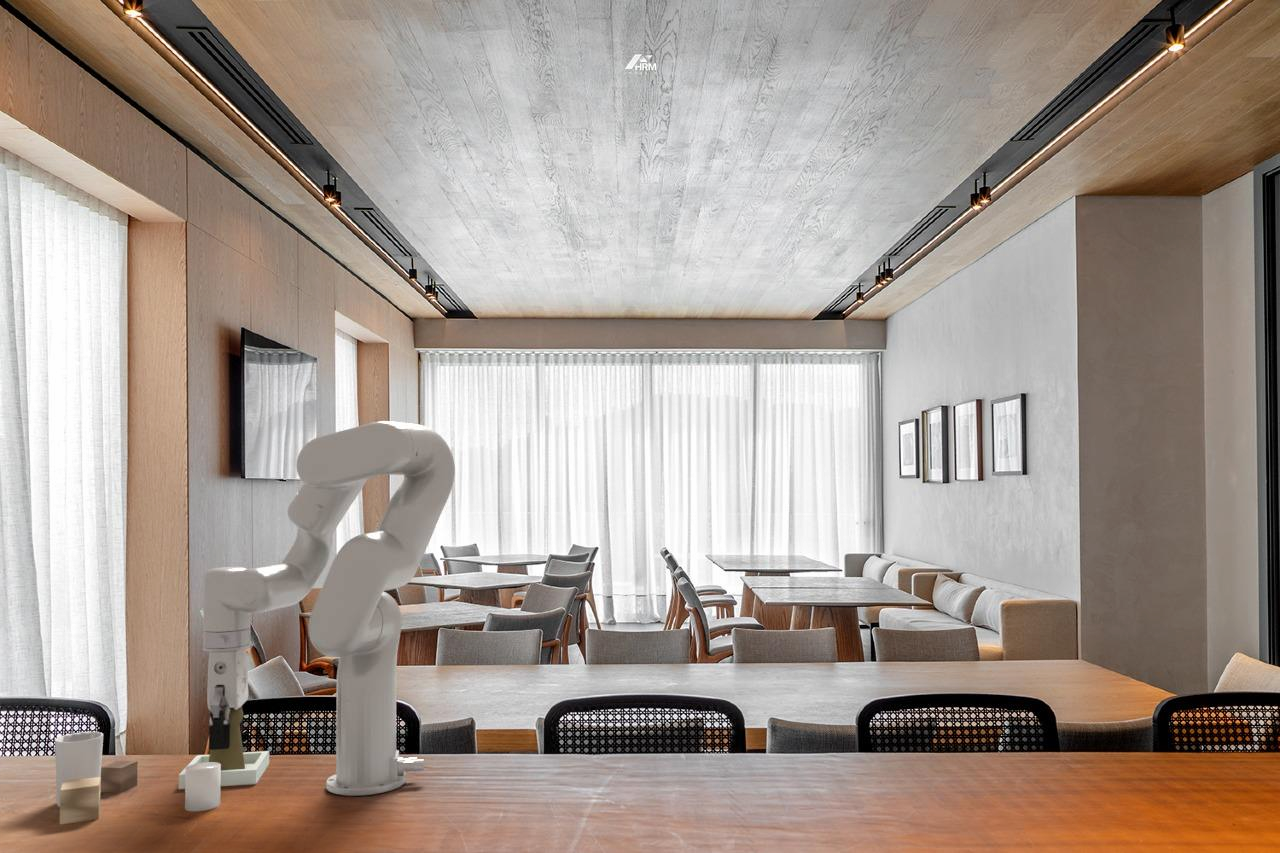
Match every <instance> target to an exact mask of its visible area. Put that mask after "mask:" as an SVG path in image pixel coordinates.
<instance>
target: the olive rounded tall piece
mask: <svg viewBox="0 0 1280 853" xmlns="http://www.w3.org/2000/svg"><path fill="white" fill-rule="evenodd" d="M224 715H225V712H224ZM243 717H244V711H243V708H242V709H241V707H240V708H239V709H237V710H234V708H230V714H229V721H228V724H230V747H229V748H228V749H217V750H210V749H209V750H210V751H209V755H210V756H209V762H217V763H220V764H221V770H236V769H245V762H244V755H243V752H244V748H243V741H242V733H241V732H240V723H241V721H242V722H243V719H244V718H243Z"/></svg>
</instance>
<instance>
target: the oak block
mask: <svg viewBox="0 0 1280 853" xmlns="http://www.w3.org/2000/svg"><path fill="white" fill-rule="evenodd" d="M101 793H102V792H101V777H95V778H87V779H79V780H71V781H63V784H62V787H61V790H60V807H59V825H67V824H73V823H74V824H75V823H81V822H87V821H88V822H89V821H94V820H99V818H100V814H101V813H100V812H101Z"/></svg>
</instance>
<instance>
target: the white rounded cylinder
mask: <svg viewBox="0 0 1280 853" xmlns="http://www.w3.org/2000/svg"><path fill="white" fill-rule="evenodd" d="M184 769H185V789H184V810H186V811H188V812H204V811H210V810H213V809H215V808H218V807H220V806H221V790H222V789H221V787H222V786H221V764H220V763H217V762H203V763H197V764H193V765H190V766H188V767H187V766H186V767H184Z"/></svg>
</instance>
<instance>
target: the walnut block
mask: <svg viewBox="0 0 1280 853" xmlns="http://www.w3.org/2000/svg"><path fill="white" fill-rule="evenodd" d="M138 764H139V762H138V760H113V761H111V762H108V763H107V764H104V765H101V792H100V793H117V794H118V793H119V794H120V793H123V792H126V791H129V789H133V788H134V787H137V786H138V768H139V767H138Z"/></svg>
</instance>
